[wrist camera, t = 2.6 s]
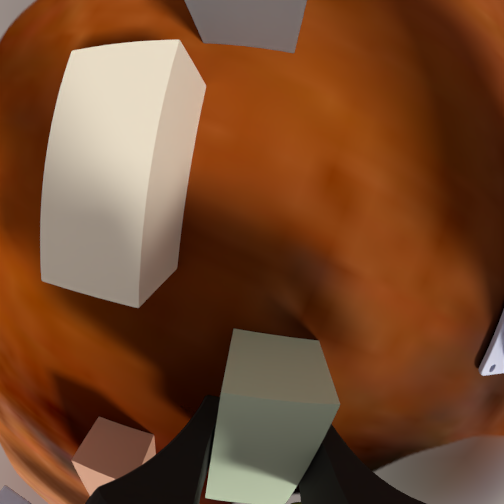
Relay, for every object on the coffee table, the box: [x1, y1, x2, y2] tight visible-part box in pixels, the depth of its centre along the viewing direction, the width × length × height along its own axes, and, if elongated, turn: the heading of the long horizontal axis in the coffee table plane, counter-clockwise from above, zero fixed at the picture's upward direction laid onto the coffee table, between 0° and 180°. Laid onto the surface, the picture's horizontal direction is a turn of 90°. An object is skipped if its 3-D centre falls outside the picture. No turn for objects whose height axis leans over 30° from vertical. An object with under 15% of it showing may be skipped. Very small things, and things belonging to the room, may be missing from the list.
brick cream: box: [40, 40, 206, 308], centre depth 8 cm, size 4×7×4 cm, turn 170°
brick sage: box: [205, 329, 340, 504], centre depth 10 cm, size 4×7×4 cm, turn 171°
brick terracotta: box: [72, 417, 156, 496], centre depth 12 cm, size 4×7×4 cm, turn 170°
